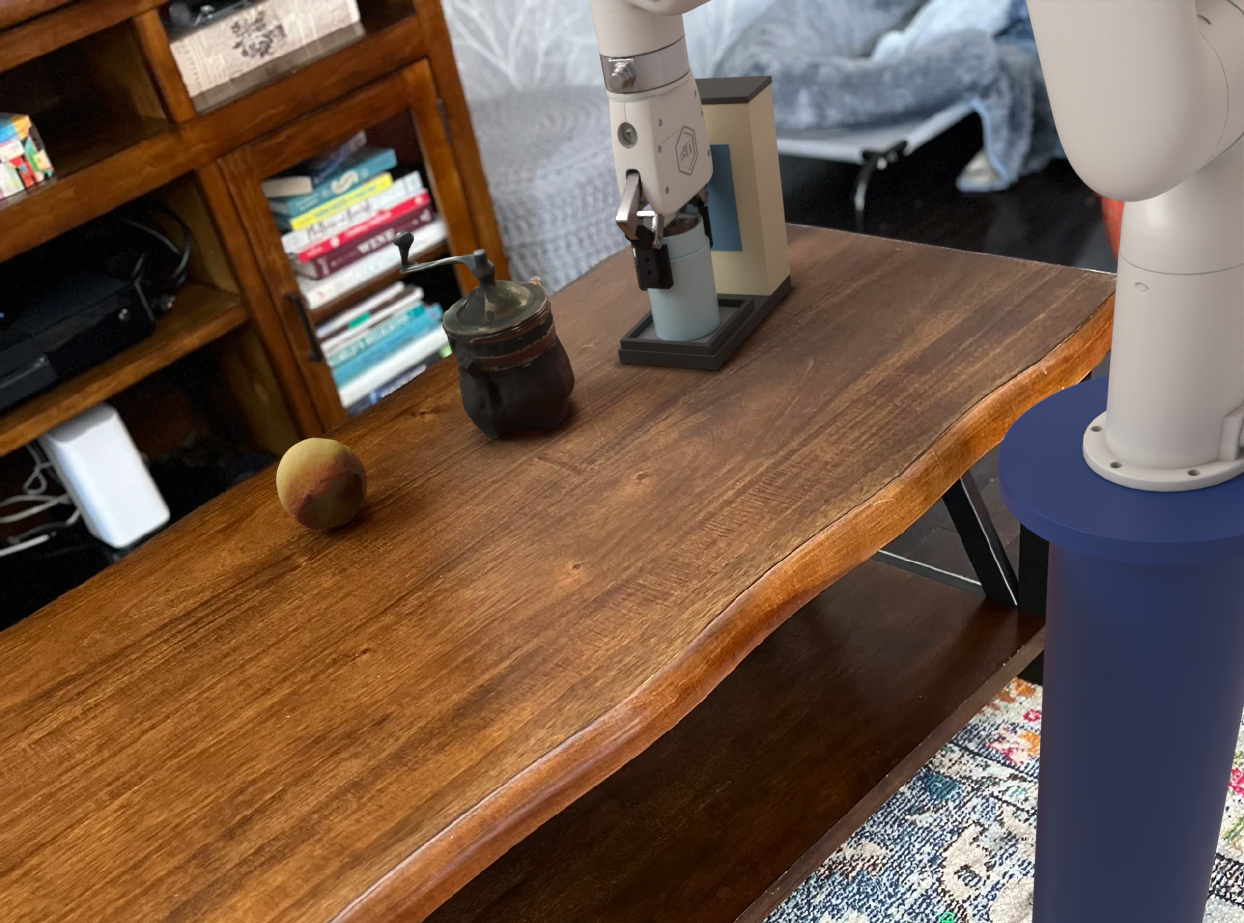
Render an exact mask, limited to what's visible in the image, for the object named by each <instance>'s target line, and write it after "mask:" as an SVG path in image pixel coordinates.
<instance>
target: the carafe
mask: <svg viewBox="0 0 1244 923" xmlns="http://www.w3.org/2000/svg"><path fill="white" fill-rule="evenodd" d="M652 224H653V219H644V220H643V225H644V226H645V227H647V228H648V229H649V230H650V231H651V232H652ZM662 244H667V247H668V252H669V258H670V264H671V270H672V276H673V282H674V285H673V286H672V287H671V288H670V289H650V288H644V287H643V286H642V282H641V277H640V271H639V266H638V261H637V255H636V250H635V249H634V248H632V247H631V246H630V248H631V253H632V258H633V264H634V269H635V275H636V280H637V286H638V289H639V290H640V291H642V292H647V294H648V301H649V305H650V310H651V311H652V317H653V322H654V328H655V333H656V335H657V337H658V338H660V339H662V340H670V341H691V340H695V339H698V338H701V337H704V336H706V335H708V334H710V333H711V332H713V331H714V330H715V329H717V327H718V326H719V325H720V322H721V318H720V311H719V304H718V297H717V291H716V284H715V277H714V270H713V263H712V256H711V249H710V242H709V238H708V237H707V236H706V235H705V230H704V223H703V218H702V216H701V215H700V211H699V208H698V207H697V206H695V205H691V204H685V205H684V206H683V207H681V208H680V209H679V210H678V211H677V212H676V213H674V214H673V215H671V216H665V217H664V229H663V240H662Z"/></svg>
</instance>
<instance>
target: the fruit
mask: <svg viewBox="0 0 1244 923" xmlns="http://www.w3.org/2000/svg"><path fill="white" fill-rule="evenodd" d="M275 481H276V489H277V495H278V497H279V501H280V503H281V505H282V507H283V508H284V510H285V511H286V513H288V515H289V516H290V517H291V518H292V519H293V520H294V521H296V522H297V523H298V524H300V525H302V526H303V527H305V528H306V529H307V530H308V529H309V530H311V532H313V531H323V530H326V529H329V528H335V527H340V526H343V525H347V524H348V523H350V522H351V521H352V520H353V519H354V518H355V516H356V515H357V513H358V512H359V510H360V509H361V508H362V506H363V505H364V504H365V502H366V501H367V494H368V493H367V491H368V484H367V483H368V479H367V472H366V469H365V466H364V463H363V462H362V460H361V459H360V458H359V456H358V455H357V454H356V453H355V452H354V451H353V450H352V449H351V447H349V446H348V445H346V444H344V443H341V442H339V441H338V440H335V439H331V438H320V437H310V438H307V439H304V440H301V441H299V442H298V443H295V444H294V445H292V446H291V447H290V448H289V449H288V450H287V451H286V452H285V453H284V454H283V456H282V458H281V460H280V462H279V465H278V467H277V471H276V478H275Z"/></svg>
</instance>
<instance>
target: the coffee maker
mask: <svg viewBox="0 0 1244 923" xmlns="http://www.w3.org/2000/svg"><path fill="white" fill-rule="evenodd" d="M772 76H773V75H751V76H749V75H748V76H727V77H709V78H708V77H705V78H702V77H701V78H695V82H696V85H697V89H698V92H699V96H700V100H701V104H702V109H703V114H704V118H705V123H706V128H707V134H708V139H709V145H710V151H711V157H712V165H713V173H712V176H711V178H710V180H709V181H708V184H707V191H708V192H709V202H708V204H707V205H704V206H708V211H709V218H710V225H711V232H712V239H713V247H712V248H711V256H712V263H713V270H714V277H715V284H716V291H717V297H718V304H719V311H720V318H721V322H720V325H719V326H718V327H717V329H715V330H714V331H713V332H711V333H710V334H708V335H706V336H704V337H701V338H698V339H695V340H691V341H670V340H662V339H660V338H658V337H657V335H656V333H655V328H654V322H653V317H652V311H651V309H650V310H649V311H648V312H647V313H645V314H644V316H643V317H642V318H640V320H639V321H637V322H636V323H635V324H634V326H633V327H631V328H630V329H629V330H628V332H626V333H625V334H624V335H623V336H622V337H621V338H620V339H619V343H620V346H619V347H618V348H617V353H618V358H619V362H620V364H627V365H639V366H655V367H665V368H666V367H667V368H677V369H678V368H679V369H691V370H706V371H718V370H719V369H720V368H721V367H722V366H723V365H724V364H725V362H726V361H727V360H729V359H730V357H731V356H732V355H733V353H734V352H735V351H736V350H737V349H738V348H739V347H740V346H741V345H742V344H743V343H744V341H745V340H746V339H747V338H748V337H749V336H750V335H751V334H752V333H753V332H754V330H755V329H756V328H757V327H758V326H759V325H760V323H762V321H763V320H765V318H766V317H767V316H768V315H769V313H771V311H773V309H775V307H776V306H777V305H778V303H780V301H782V299H783V298H785V296H786V295H787V294H788V293H789V291H790V290H791V289H792V287H793V286H792V276H791V266H790V254H789V246H788V236H787V226H786V217H785V207H784V198H783V187H782V178H781V167H780V159H779V158H780V157H779V149H778V138H777V130H776V120H775V111H774V110H775V108H774V100H773V90H772V83H773V77H772Z"/></svg>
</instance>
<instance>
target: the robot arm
mask: <svg viewBox="0 0 1244 923" xmlns="http://www.w3.org/2000/svg"><path fill="white" fill-rule="evenodd" d="M711 1H712V0H589V1H588V2H589V5H590V6H589V7H590V12H591V16H592V21H593V22H592V23H593V27H594V32H595V37H596V43H597V49H598V53H599V54H598V56H599V59H600V66H601V70H602V76H603V81H604V87H605V92H606V95H607V97H608V98H609V100H608V104H609V105H608V106H609V122H610V124H609V126H610V136H611V145H612V152H613V153H612V154H613V162H614V168H615V175H616V180H617V186H618V191H619V195H620V202H619V205H618V209H617V213H616V215H615V216H616V217H615V223H616V225H617V226H618V228H619V229H620V230H621V232H622V233H623V235H624V237H625V239H626V240H627V241H628V242H630V243H629V244H630V248H631V247H632V248H634V249H635V250H636V255H637V261H638V266H639V271H640V277H641V282H642V286H643V287H644V288H650V289H670V288H671V287H672V286H673V285H674V282H673V276H672V270H671V264H670V258H669V252H668V247H667V244H662V240H663V229H664V217H665V216H671V215H673V214H674V213H676V212H677V211H678V210H679V209H680V208H681V207H683V206H684V205H685V204H691V205H695V206H697V207H698V208H699V211H700V215H701V216H702V218H703V223H704V230H705V235H706V236H707V237H708V238H709V242H710V249H711V248H712V247H713V239H712V232H711V225H710V218H709V211H708V206H704V205H707V204H708V202H709V192H708V191H707V184H708V181H709V180H710V178H711V176H712V173H713V165H712V157H711V151H710V145H709V139H708V134H707V128H706V123H705V118H704V114H703V109H702V104H701V100H700V96H699V92H698V89H697V85H696V82H695V79H696V78H695V76H694V73H693V70H692V68H691V66H690V60H689V54H688V46H687V39H686V32H685V24H684V17H683V15H684V14H686V13H689V12H691V11H693V10H696V9H697V8H698V7H701V6H704V5H705V4H707V3H709V2H711ZM1025 3H1026V7H1027V11H1028V15H1029V20H1030V24H1031V29H1032V33H1033V37H1034V40H1035V41H1034V42H1035V46H1036V50H1037V54H1038V58H1039V62H1040V68H1041V71H1042V75H1043V80H1044V84H1045V88H1046V93H1047V97H1048V100H1049V105H1050V109H1051V113H1052V118H1053V120H1054V121H1053V122H1054V125H1055V130H1056V133H1057V135H1058V137H1059V142H1060V144H1061V148H1062V149H1063V151H1064V154H1065V156H1066V158H1067V161H1068V162H1069V164H1070V166H1071V167H1072V169H1073V170H1074V172H1075V174H1076V175H1077V176H1078V177H1079V178H1080V180H1081V181H1082V182H1083V183H1084V184H1085V185H1086V186H1087V187H1088V188H1089V189H1091V190H1092V191H1094V192H1095V193H1097V194H1099V196H1100V195H1101V196H1102V197H1104V198H1106V199H1109V200H1112V201H1117V202H1123V203H1124V204H1123V210H1122V216H1121V226H1120V236H1119V247H1118V254H1117V255H1118V256H1117V269H1116V281H1115V285H1116V286H1115V295H1114V296H1115V298H1114V308H1113V322H1112V334H1111V335H1112V336H1111V348H1110V359H1109V360H1110V362H1109V374H1108V375H1109V386H1108V399H1107V411H1105V412H1103V413H1102V414H1101V415H1099V416H1098V417H1097V418H1095V419H1094V420H1093V421H1092V423H1091V424H1090V425H1089V426H1088V427H1087V429H1086V432H1085V434H1084V439H1083V456H1084V458H1085V460H1086V462H1087V464H1088V465H1089V467H1090V468H1091V469H1092V470H1093V471H1094V472H1096V473H1097V474H1099V475H1100V476H1102V477H1103V478H1105V479H1107V480H1109V481H1111V482H1113V483H1116V484H1118V485H1122V486H1125V487H1129V488H1132V489H1138V490H1145V491H1155V492H1180V491H1189V490H1196V489H1202V488H1206V487H1210V486H1214V485H1217V484H1220V483H1222V482H1225V481H1227V480H1230V479H1232V478H1234V477H1235V476H1237V475H1239V474H1241V473H1242V472H1244V0H1025ZM647 206H650V208H651V209H645V208H646V207H647ZM644 219H653V224H652V232H651V231H650V230H649V229H648V228H647V227H645V226H644V225H643V220H644ZM632 248H631V249H632Z"/></svg>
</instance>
